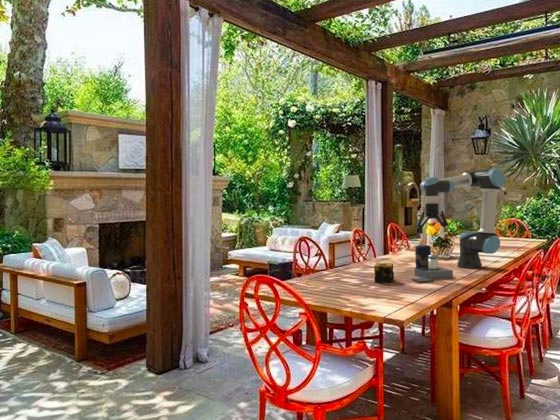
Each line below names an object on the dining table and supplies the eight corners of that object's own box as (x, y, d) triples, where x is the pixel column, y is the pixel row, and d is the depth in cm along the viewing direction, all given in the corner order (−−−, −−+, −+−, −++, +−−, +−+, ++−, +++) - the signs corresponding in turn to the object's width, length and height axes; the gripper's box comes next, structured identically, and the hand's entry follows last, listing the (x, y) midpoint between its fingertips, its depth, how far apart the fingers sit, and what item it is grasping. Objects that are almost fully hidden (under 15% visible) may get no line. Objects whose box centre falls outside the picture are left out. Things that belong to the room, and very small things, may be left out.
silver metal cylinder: (435, 275, 292) (434, 254, 292) (440, 277, 287) (439, 255, 286) (426, 276, 291) (426, 254, 291) (431, 277, 286) (431, 256, 285)
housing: (437, 273, 299) (437, 266, 298) (452, 277, 283) (452, 270, 283) (414, 275, 295) (414, 268, 295) (428, 279, 279) (428, 272, 279)
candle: (394, 280, 283) (393, 263, 282) (392, 283, 273) (392, 265, 273) (376, 279, 286) (376, 262, 286) (374, 282, 276) (373, 265, 276)
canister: (432, 273, 298) (431, 245, 298) (416, 273, 300) (415, 245, 300) (430, 271, 308) (429, 243, 307) (415, 271, 310) (414, 243, 309)
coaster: (425, 279, 282) (425, 277, 282) (433, 281, 273) (433, 280, 273) (411, 280, 280) (411, 278, 280) (419, 283, 271) (419, 281, 271)
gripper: (447, 202, 294) (447, 236, 295) (409, 203, 288) (410, 238, 289) (454, 202, 286) (454, 237, 287) (416, 203, 281) (416, 239, 282)
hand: (432, 238), depth 288 cm, fingers open, 13 cm apart
